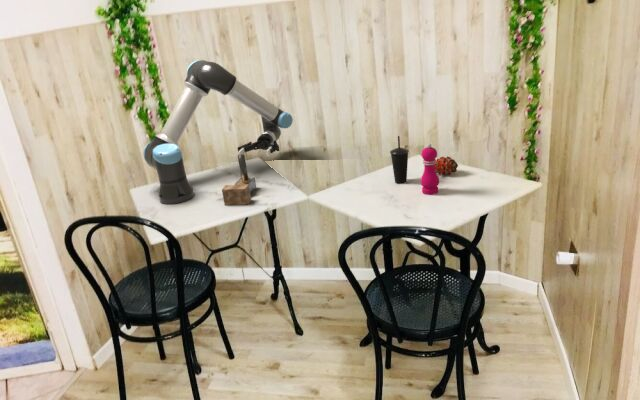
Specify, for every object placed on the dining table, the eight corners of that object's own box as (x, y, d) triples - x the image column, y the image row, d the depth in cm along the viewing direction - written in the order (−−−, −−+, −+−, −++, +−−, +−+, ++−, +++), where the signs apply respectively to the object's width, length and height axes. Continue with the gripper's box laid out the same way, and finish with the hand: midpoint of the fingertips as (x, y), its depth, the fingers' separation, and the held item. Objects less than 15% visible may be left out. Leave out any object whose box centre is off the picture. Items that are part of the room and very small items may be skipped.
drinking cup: (411, 184, 217) (409, 138, 210) (392, 185, 218) (390, 139, 210) (408, 177, 224) (406, 132, 217) (390, 179, 225) (388, 134, 217)
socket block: (224, 205, 218) (221, 189, 215) (228, 200, 222) (225, 185, 220) (247, 204, 216) (244, 188, 213) (251, 199, 220) (248, 184, 218)
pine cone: (460, 179, 221) (432, 181, 226) (460, 162, 226) (432, 165, 231) (456, 167, 215) (427, 171, 220) (456, 151, 219) (428, 154, 224)
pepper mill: (439, 195, 204) (438, 146, 196) (420, 195, 205) (419, 147, 198) (439, 188, 210) (438, 140, 203) (421, 188, 212) (419, 141, 204)
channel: (234, 197, 225) (232, 186, 223) (242, 188, 234) (240, 177, 232) (249, 196, 224) (248, 185, 222) (256, 187, 233) (254, 177, 231)
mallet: (232, 200, 218) (226, 166, 212) (243, 186, 232) (237, 154, 226) (241, 199, 217) (235, 165, 212) (251, 186, 231) (246, 154, 225)
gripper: (291, 146, 255) (280, 161, 236) (243, 149, 261) (228, 163, 242) (289, 131, 253) (278, 145, 234) (241, 134, 258) (226, 147, 239)
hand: (253, 154), depth 238 cm, fingers open, 13 cm apart
